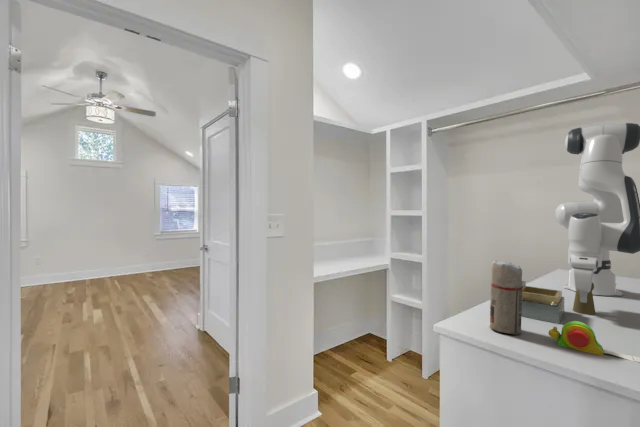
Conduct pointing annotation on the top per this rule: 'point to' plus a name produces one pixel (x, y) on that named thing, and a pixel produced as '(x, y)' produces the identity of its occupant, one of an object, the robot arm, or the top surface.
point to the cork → (584, 307)
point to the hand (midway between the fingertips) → (584, 300)
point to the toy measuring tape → (582, 339)
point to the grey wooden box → (542, 303)
